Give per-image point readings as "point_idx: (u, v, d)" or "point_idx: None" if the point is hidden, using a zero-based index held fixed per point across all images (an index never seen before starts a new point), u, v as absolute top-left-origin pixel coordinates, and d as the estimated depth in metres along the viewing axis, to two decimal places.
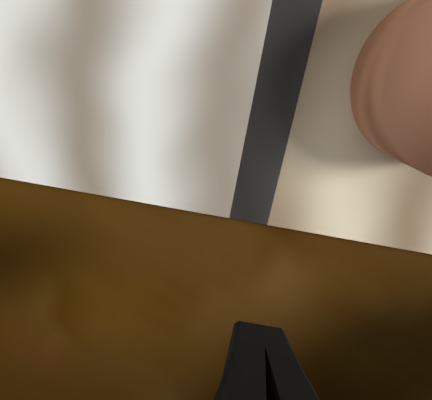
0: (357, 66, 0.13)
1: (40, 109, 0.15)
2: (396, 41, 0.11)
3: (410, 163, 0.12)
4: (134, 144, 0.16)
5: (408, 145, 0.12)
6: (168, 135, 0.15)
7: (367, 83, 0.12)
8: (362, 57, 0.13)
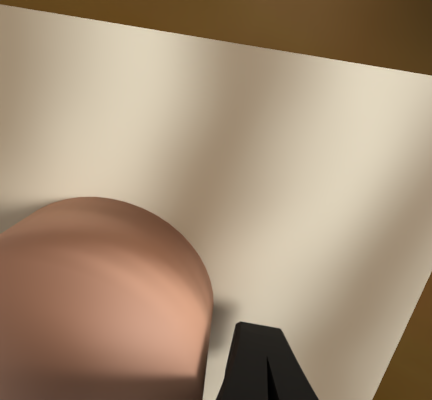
0: None
1: None
2: None
3: None
4: None
5: None
6: None
7: None
8: None
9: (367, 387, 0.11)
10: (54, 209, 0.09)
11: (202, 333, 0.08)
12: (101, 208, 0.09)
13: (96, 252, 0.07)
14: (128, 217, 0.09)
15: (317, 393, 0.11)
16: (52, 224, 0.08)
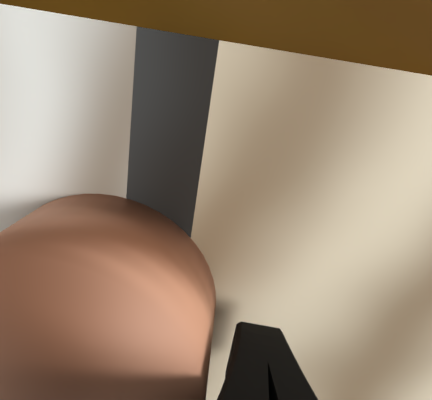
0: None
1: None
2: None
3: None
4: None
5: None
6: None
7: None
8: None
9: None
10: (59, 205, 0.09)
11: (206, 332, 0.08)
12: (106, 205, 0.09)
13: (103, 249, 0.07)
14: (133, 215, 0.09)
15: None
16: (58, 221, 0.07)
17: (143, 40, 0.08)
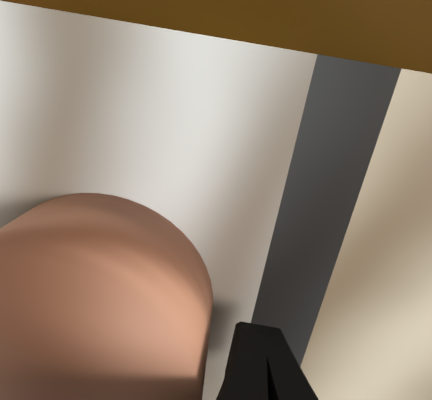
0: None
1: None
2: None
3: None
4: None
5: None
6: None
7: None
8: None
9: None
10: (55, 204, 0.08)
11: (202, 333, 0.08)
12: (103, 205, 0.09)
13: (99, 249, 0.07)
14: (130, 214, 0.08)
15: None
16: (54, 220, 0.07)
17: (322, 68, 0.08)
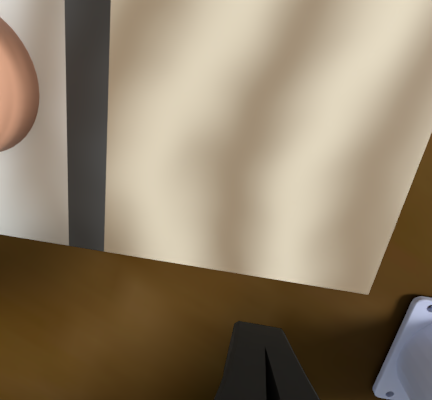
0: None
1: None
2: None
3: None
4: None
5: None
6: None
7: None
8: None
9: (401, 191, 0.16)
10: None
11: None
12: None
13: None
14: None
15: (365, 199, 0.16)
16: None
17: None
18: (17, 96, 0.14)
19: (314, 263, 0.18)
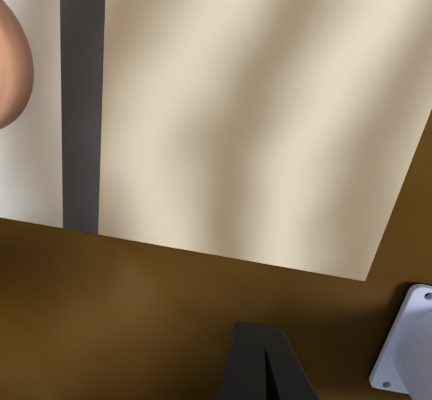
0: None
1: None
2: None
3: None
4: None
5: None
6: None
7: None
8: None
9: (398, 174, 0.16)
10: None
11: None
12: None
13: None
14: None
15: (362, 182, 0.16)
16: None
17: None
18: (10, 71, 0.14)
19: (310, 248, 0.17)
